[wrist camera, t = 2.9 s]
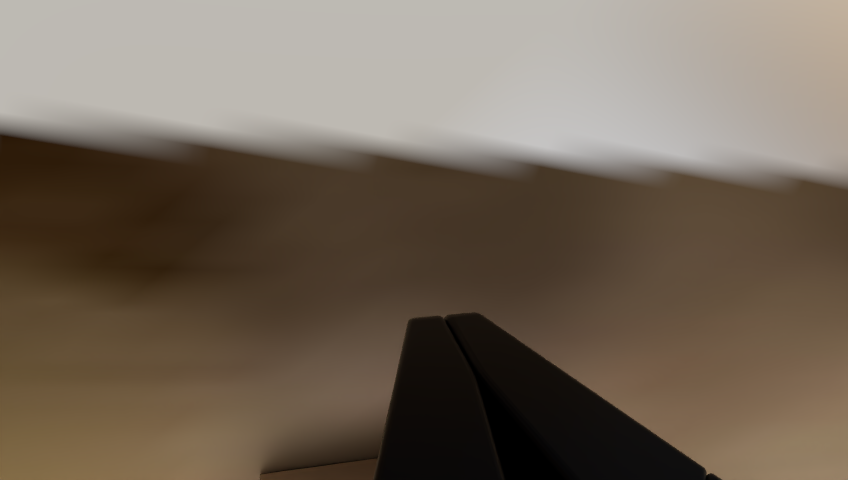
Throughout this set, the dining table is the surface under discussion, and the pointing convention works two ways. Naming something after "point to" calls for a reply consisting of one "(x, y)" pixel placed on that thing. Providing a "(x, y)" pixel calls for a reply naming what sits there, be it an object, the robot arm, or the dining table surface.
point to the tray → (329, 472)
